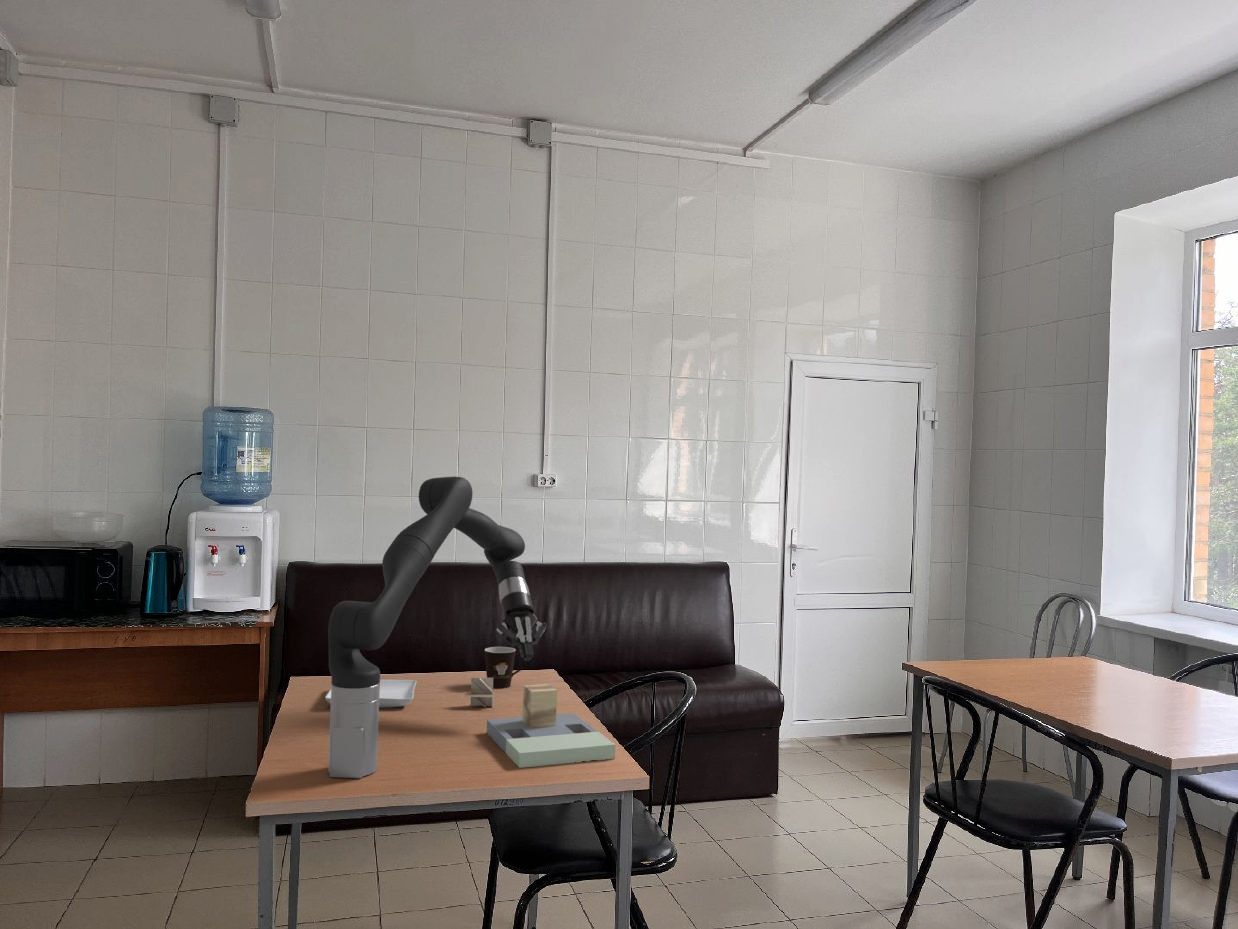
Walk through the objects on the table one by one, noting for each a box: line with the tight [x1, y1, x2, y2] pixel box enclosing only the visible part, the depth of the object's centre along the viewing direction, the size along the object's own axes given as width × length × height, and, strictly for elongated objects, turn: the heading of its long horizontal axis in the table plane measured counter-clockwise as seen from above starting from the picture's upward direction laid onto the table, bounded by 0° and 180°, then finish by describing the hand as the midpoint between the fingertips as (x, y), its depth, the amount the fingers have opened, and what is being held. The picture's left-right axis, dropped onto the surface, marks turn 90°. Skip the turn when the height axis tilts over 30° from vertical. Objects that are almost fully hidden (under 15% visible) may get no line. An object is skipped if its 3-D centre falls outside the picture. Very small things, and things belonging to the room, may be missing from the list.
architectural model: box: [464, 677, 494, 708], centre depth 233 cm, size 3×7×7 cm, turn 94°
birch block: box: [522, 683, 558, 728], centre depth 209 cm, size 6×6×8 cm
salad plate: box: [324, 679, 418, 709], centre depth 237 cm, size 21×21×3 cm
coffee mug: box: [484, 646, 529, 690], centre depth 256 cm, size 12×9×10 cm
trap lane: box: [486, 712, 616, 769], centre depth 203 cm, size 26×21×3 cm
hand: (528, 658), depth 218 cm, fingers closed
